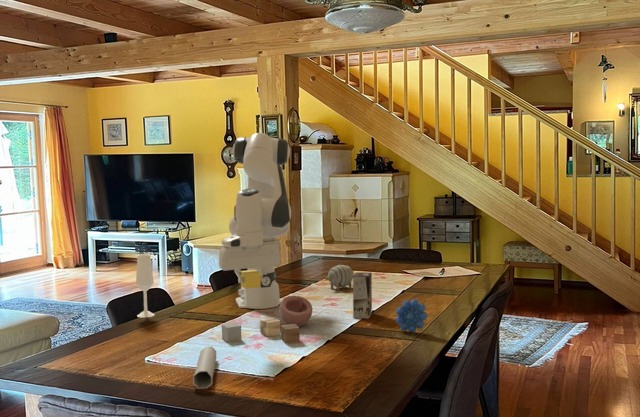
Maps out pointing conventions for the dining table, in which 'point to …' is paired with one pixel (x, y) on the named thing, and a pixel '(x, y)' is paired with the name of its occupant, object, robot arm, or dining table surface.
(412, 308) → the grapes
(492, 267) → the dining table surface
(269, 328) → the beech cube
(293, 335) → the walnut cube
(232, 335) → the grey cube
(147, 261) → the champagne flute
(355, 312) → the coffee box
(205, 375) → the tube
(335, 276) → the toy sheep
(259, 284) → the mustard cube
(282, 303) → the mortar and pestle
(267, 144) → the robot arm
